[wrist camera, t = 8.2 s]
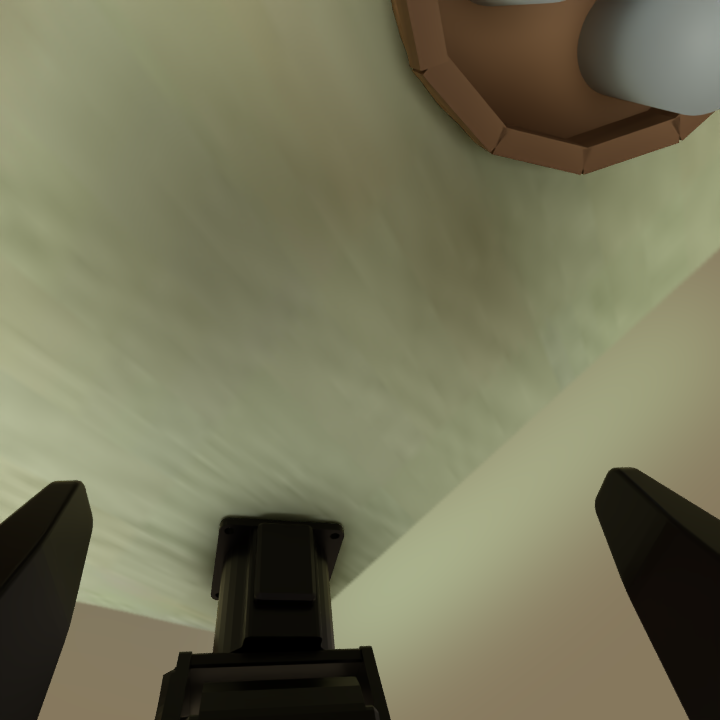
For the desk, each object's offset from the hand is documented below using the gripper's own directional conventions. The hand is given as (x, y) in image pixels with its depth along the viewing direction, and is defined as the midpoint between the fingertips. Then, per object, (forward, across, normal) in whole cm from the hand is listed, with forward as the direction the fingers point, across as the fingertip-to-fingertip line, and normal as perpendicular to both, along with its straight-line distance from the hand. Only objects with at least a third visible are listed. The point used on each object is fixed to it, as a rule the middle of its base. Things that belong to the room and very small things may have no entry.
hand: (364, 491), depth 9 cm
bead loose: (+11, -9, -7) cm, 16 cm away
